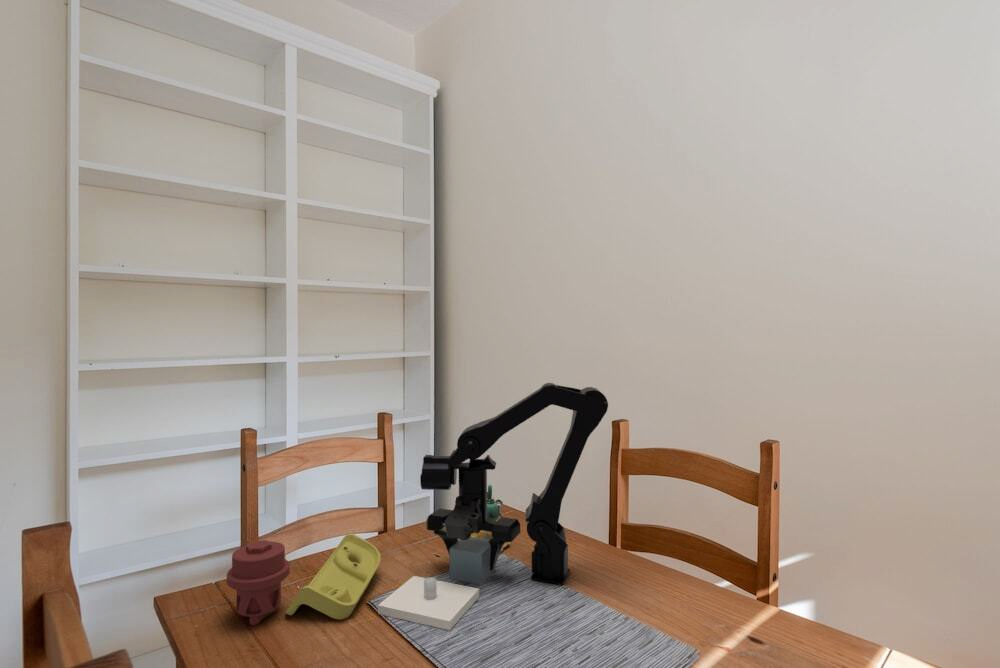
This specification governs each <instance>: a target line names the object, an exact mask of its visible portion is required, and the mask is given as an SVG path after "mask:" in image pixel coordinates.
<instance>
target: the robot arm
mask: <svg viewBox="0 0 1000 668" xmlns="http://www.w3.org/2000/svg"><path fill="white" fill-rule="evenodd" d="M551 405H553V406H557V407H560V408H563V409H566V410H571V411H572V414H571V415H572V416H571V422H570V425H569V430H568V432H567V434H566V437H565V440H564V442H563V445H562V446H561V449H560V451H559V454H558V456H557V457H556V461H555V463H554V466H553V468H552V470H551V473H550V476H549V478H548V481H547V482H546V485H545V488H544V489H543V490H542V491H541V493H540V494H539V495H537V494H536V493H534V492H532V496H531V500H530V503H529V505H528V506H527V507H526V508H525V522H526V533H527V536H528V537H529V538H530V539H531V541H533V542H535V544H534V545H533V550H532V552H531V572H532V575H531V577H530V578H531V580H533V581H539V582H545V583H549V584H550V583H551V584H556V585H560V586H561V585H564V583H565V581H566V580H567V578H568V577H569V575H570V573H571V569H570V568H569V545H568V543H567V538H566V537H567V536H566V531H565V527H564V526H563V525H562V524H561V523H560V522H559V518H560V515H561V514H560V513H561V507H562V502H563V499H564V496H565V494H566V491H567V489H568V487H569V484H570V482H571V480H572V477H573V475H574V472H575V470H576V467H577V465H578V463H579V460H580V458H581V455H582V454H583V451H584V449H585V446H586V444H587V441H588V439H589V437H590V435H592V433H593V432H594V430H596V428H597V427H598V426H599V424H600V423H601V422H602V419H603V418H604V416H605V415H606V414H607V412H608V408H609V402H608V399H607V397H606V396H605V395H604V393H602V391H600V390H599V389H597V388H596V387H592V386H586V387H584V388H581V389H580V388H575V387H570V386H564V385H563V386H562V385H560V384H559V385H558V384H556V383H553V382H546V383H544V384H543V385H541V386H540V388H538V389H537V390H535V391H534V392H532V393H531V394H528V395H527V396H526V397H524V398H523V399H520V401H518V402H516V403H514V404H513V405H511V406H510V407H509V408H506V409H505V410H503V411H502V412H501V413H499V414H497V415H496V416H493V417H490V418H489V419H486V420H483V421H480V422H476V423H475V424H472V425H470V426H467V427H466V428H465V429H464V430H463V431H462V432H461V434H460V435H459V437H458V439H457V443H456V445H457V446H456V449H454V450H453V451H452V452H451V454H450V455H433V454H425V455H424V456H423V459H422V461H423V462H422V467H421V473H420V477H419V479H420V481H419V482H420V488H421V490H423V491H424V490H426V491H427V490H429V491H430V490H432V491H433V490H435V491H436V490H437V491H442V490H443V491H450V490H451V488H452V486H456V484H457V470H458V495H457V496H456V497H455V500H454V501H455V502H454V503H455V504H454V508H453V509H446V508H438V509H437V510H435V511H434V512H432V513H431V514H429V515H428V516H427V518H426V520H425V521H426V525H425V528H426V530H427V531H433V534H434V535H437V536H438V537H440V538H441V539H442V541H443V542H444V545H445V547H446V549H447V553H448V555H449V557H450V548H451V547H452V546H453V545H454V544H456V543H457V542H458V541H459V540H460V539H461V540H467V539H469V538H470V536H471V534H473V533H479V532H480V530H482V531H488V532H492V537H493V538H492V539H491V540H490V541H489V544H490V546H491V551H490V570H491V571H493V569H494V567H495V568H496V565H497V563H498V562H497V561H498V559H499V556H500V554H501V553H500V551H501V549H502V547H503V545H504V544H505V543H506V542H509V543H512V542H513V541H514V540H515V538H517V537H518V535H519V534H521V523H520V522H519V520H518V519H517V518H512V517H504V516H502V517H499V518H498V519H499V520H498V519H497V520H498V521H496V522H491V521H487V518H489V512H487V499H488V498H489V492H488V477H487V476H488V471H487V470H493V471H494V470H495V469H496V465H497V462H496V461H495V460H494V459H493V458H491V456H490V455H489V454H487V455H486V456H485V457H483V458H480V457H481V456H483V455H484V454H485V453H486V452H487V451H488V450H489V449H490V448H492V446H493V445H495V444H496V442H497V441H498V440H500V438H501V437H503V436H504V435H505V434H507V433H508V432H510V431H511V430H514V429H515V428H516V427H518V426H519V425H521V424H522V423H524V422H526V421H528V420H529V419H530V418H532V417H535V415H537V414H539V413H540V412H541V411H543V410H545V409H546V408H548V407H549V406H551ZM467 460H469V461H468V462H465V461H467ZM501 552H502V551H501Z"/></svg>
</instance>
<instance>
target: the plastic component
mask: <svg viewBox="0 0 1000 668" xmlns="http://www.w3.org/2000/svg"><path fill="white" fill-rule="evenodd" d="M381 556H382V555H381V553H380V551H379V549H378V548H377V547H376V546H375V545H374V544H373V543H371V542H370V541H368V540H366V539H364V538H362V537H360V536H359V535H356V534H354V533H348V534H345V536H344V537H343V538H342V539H341V541H340V542H339V544H338V545H337V546H336V548H335V549H334V550H333V552H332V554H330V556H329V557H328V559H327V560H326V561H325V562H324V564H323V565H322V567H321V568H320V569H319V570H318V572H317V574H316V575H315V576H313V579H312V580H311V581H310V582H309V584H308V585H304V586H303V587H302V588H301V589H300V591H299V592H298V593H297V595H296V596H295V598H294V599H293V601H292V602H291V603H290V605H289V606H288V608H287V610H286V611H285V614H286V615H288V616H293V615H294V614H295V613H296V612H297V611H298V609H299V608H300V607H301V605H306V606H309V607H310V608H312V609H314V610H316V611H319V612H320V613H322V614H324V615H326V616H327V617H330V618H332V619H335V620H344V619H347V618H348V617H350V616H351V614H352V613H353V611H354V610H355V608H356V606H357V604H358V603H359V601H360V600H361V597H362V596H363V595H364V593H365V592H366V590H367V588H368V586H369V585H370V582H371V581H372V578H373V577H374V576H375V574H376V572H377V570H378V567H379V565H380V563H381V561H382V559H381V558H382V557H381Z"/></svg>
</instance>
